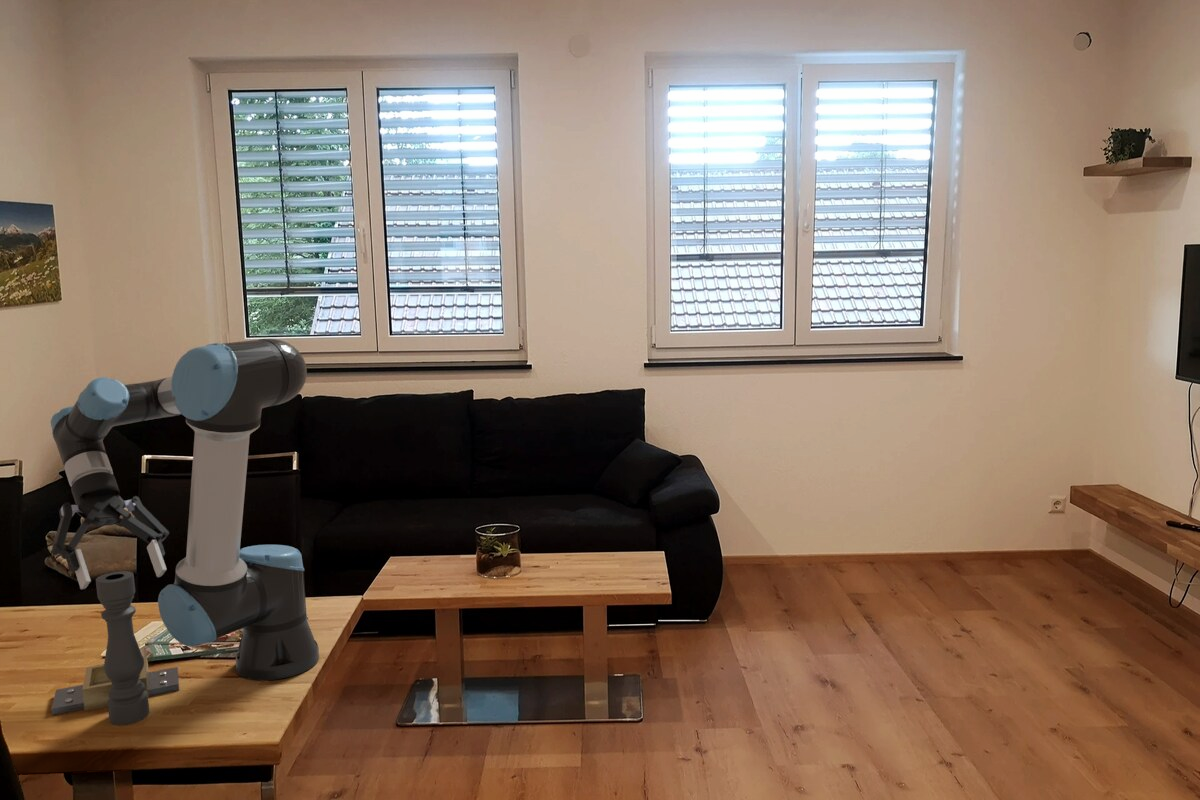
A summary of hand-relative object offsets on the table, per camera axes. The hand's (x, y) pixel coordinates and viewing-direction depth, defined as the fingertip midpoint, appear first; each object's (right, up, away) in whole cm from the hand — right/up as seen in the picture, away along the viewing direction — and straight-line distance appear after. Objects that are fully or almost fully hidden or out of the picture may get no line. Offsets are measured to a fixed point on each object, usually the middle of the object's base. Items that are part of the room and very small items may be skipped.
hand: (125, 579), depth 167 cm
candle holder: (+5, -22, -9) cm, 24 cm away
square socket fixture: (-1, -21, 0) cm, 21 cm away
